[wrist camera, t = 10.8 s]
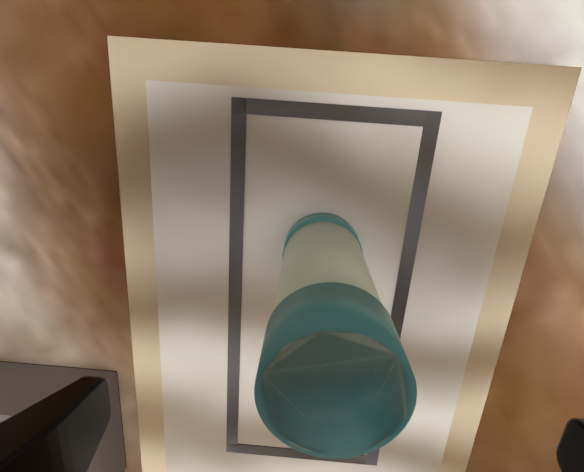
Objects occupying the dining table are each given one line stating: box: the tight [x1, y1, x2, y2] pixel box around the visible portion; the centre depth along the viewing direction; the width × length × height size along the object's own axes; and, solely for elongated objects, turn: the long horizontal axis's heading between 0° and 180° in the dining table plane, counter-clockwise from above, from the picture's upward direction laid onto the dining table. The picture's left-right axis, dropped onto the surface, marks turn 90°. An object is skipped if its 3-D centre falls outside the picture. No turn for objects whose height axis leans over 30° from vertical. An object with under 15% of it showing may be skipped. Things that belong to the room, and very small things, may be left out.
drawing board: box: [107, 36, 582, 472], centre depth 18 cm, size 24×18×1 cm
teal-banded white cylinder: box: [254, 213, 417, 459], centre depth 12 cm, size 3×3×9 cm
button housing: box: [0, 362, 126, 472], centre depth 20 cm, size 7×7×4 cm
